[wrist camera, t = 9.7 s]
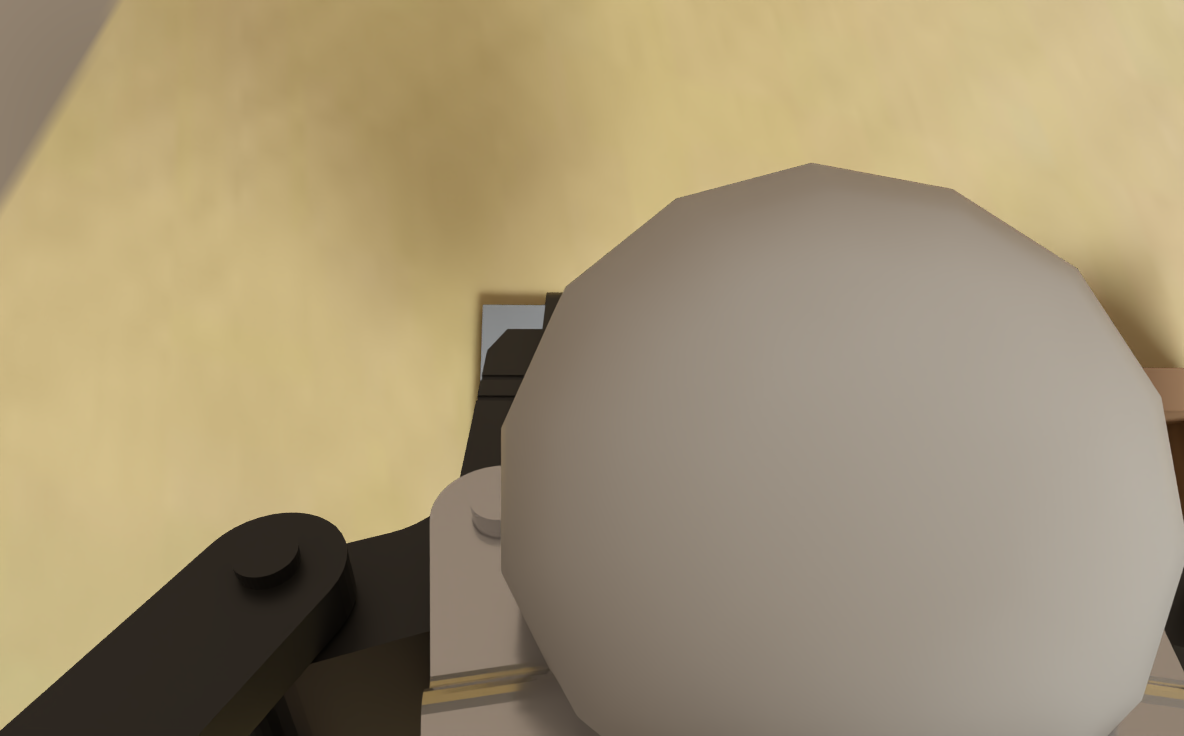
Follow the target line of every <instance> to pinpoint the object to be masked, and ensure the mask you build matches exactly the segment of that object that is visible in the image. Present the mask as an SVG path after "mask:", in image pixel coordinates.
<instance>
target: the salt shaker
mask: <svg viewBox="0 0 1184 736" xmlns="http://www.w3.org/2000/svg"><path fill="white" fill-rule="evenodd" d="M1183 568H1184V521H1183V515H1182V510H1181V504H1180V499H1179V493H1178V487H1177V482H1176V476H1175V471H1174V465H1173V460H1172V454H1171V448H1170V443H1169V437H1168V432H1167V426H1166V420H1165V415H1164V409H1163V404H1162V398H1161V396H1160V394H1159V393H1158V391H1157V390H1156V388H1155V387H1154V385H1153V384H1152V382H1151V380H1150V379H1149V377H1148V376H1147V374H1146V373H1145V371H1144V370H1143V368H1142V367H1141V365H1140V364H1139V362H1138V361H1137V359H1136V357H1135V356H1134V354H1133V353H1132V351H1131V350H1130V348H1129V347H1128V345H1127V344H1126V342H1125V341H1124V339H1123V337H1122V336H1121V334H1120V333H1119V331H1118V330H1117V328H1116V327H1115V325H1114V324H1113V322H1112V321H1111V319H1110V318H1109V316H1108V314H1107V313H1106V311H1105V310H1104V308H1103V307H1102V305H1101V304H1100V302H1099V301H1098V299H1097V298H1096V296H1095V295H1094V293H1093V291H1092V290H1091V288H1090V287H1089V285H1088V284H1087V282H1086V281H1085V279H1084V278H1083V276H1082V275H1081V273H1080V271H1079V270H1078V269H1077V268H1076V267H1074V266H1072V265H1071V264H1069V263H1068V262H1066V261H1065V260H1063V259H1061V258H1060V257H1058V256H1057V255H1055V254H1054V253H1052V252H1050V251H1049V250H1047V249H1046V248H1044V247H1043V246H1041V245H1039V244H1038V243H1036V242H1035V241H1033V240H1032V239H1030V238H1028V237H1027V236H1025V235H1024V234H1022V233H1021V232H1019V231H1018V230H1016V229H1014V228H1013V227H1011V226H1010V225H1008V224H1007V223H1005V222H1003V221H1002V220H1000V219H999V218H997V217H996V216H994V215H992V214H991V213H989V212H988V211H986V210H985V209H983V208H981V207H980V206H978V205H977V204H975V203H974V202H972V201H970V200H969V199H967V198H966V197H964V196H963V195H961V194H959V193H958V192H956V191H955V190H953V189H949V188H944V187H939V186H933V185H928V184H922V183H917V182H912V181H906V180H901V179H896V178H890V177H885V176H879V175H874V174H869V173H863V172H858V171H852V170H847V169H842V168H836V167H831V166H826V165H820V164H815V163H809V164H805V165H801V166H798V167H794V168H790V169H786V170H782V171H779V172H775V173H771V174H767V175H764V176H760V177H756V178H752V179H748V180H745V181H741V182H737V183H733V184H730V185H726V186H722V187H718V188H714V189H711V190H707V191H703V192H699V193H696V194H692V195H688V196H684V197H680V198H677V199H675V200H674V201H672V202H671V203H670V204H669V205H667V206H666V207H665V208H664V209H662V210H661V211H660V212H659V213H657V214H656V215H655V216H654V217H652V218H651V219H650V220H649V221H647V222H646V223H645V224H644V225H642V226H641V227H640V228H639V229H637V230H636V231H635V232H634V233H632V234H631V235H630V236H629V237H627V238H626V239H625V240H624V241H622V242H621V243H620V244H619V245H617V246H616V247H615V248H614V249H612V250H611V251H610V252H609V253H607V254H606V255H605V256H604V257H602V258H601V259H600V260H599V261H597V262H596V263H595V264H594V265H592V266H591V267H590V268H589V269H587V270H586V271H585V272H584V273H582V274H581V275H580V276H579V277H577V278H576V279H575V280H574V281H572V282H571V283H570V284H569V285H567V286H566V288H565V290H564V291H563V293H562V295H561V297H560V299H559V301H558V303H557V305H556V308H555V310H554V312H553V314H552V316H551V319H550V321H549V323H548V325H547V328H546V330H545V332H544V334H543V336H542V339H541V341H540V343H539V345H538V348H537V350H536V352H535V354H534V356H533V359H532V361H531V363H530V365H529V368H528V370H527V372H526V374H525V376H524V379H523V381H522V383H521V385H520V387H519V390H518V392H517V394H516V396H515V399H514V401H513V403H512V405H511V407H510V410H509V412H508V414H507V416H506V419H505V421H504V423H503V425H502V427H501V573H502V575H503V577H504V579H505V581H506V583H507V585H508V587H509V589H510V591H511V593H512V595H513V597H514V599H515V601H516V603H517V605H518V607H519V609H520V611H521V613H522V615H523V617H524V619H525V621H526V623H527V625H528V627H529V629H530V631H531V633H532V635H533V637H534V639H535V641H536V643H537V645H538V647H539V649H540V651H541V653H542V655H543V657H544V659H545V661H546V663H547V665H548V667H549V669H550V670H551V671H552V673H553V674H554V676H555V677H556V679H557V681H558V683H559V684H560V686H561V688H562V690H563V691H564V693H565V695H566V697H567V699H568V700H569V702H570V704H571V706H572V708H573V710H574V712H575V713H576V715H577V716H578V717H579V718H580V719H581V720H582V721H583V722H585V723H586V724H587V725H588V726H589V727H591V728H592V729H593V730H594V731H596V732H597V733H598V734H599V735H600V736H1108V735H1109V734H1110V733H1111V732H1112V731H1113V729H1114V728H1115V727H1116V726H1117V725H1118V724H1119V723H1120V722H1121V721H1122V720H1123V719H1124V718H1125V717H1126V716H1127V715H1128V714H1129V713H1130V712H1131V711H1132V710H1133V709H1134V708H1135V707H1136V706H1137V705H1138V704H1139V703H1140V702H1141V701H1142V698H1143V695H1144V692H1145V689H1146V686H1147V682H1148V679H1149V676H1150V673H1151V670H1152V666H1153V663H1154V660H1155V657H1156V654H1157V650H1158V647H1159V644H1160V641H1161V638H1162V635H1163V631H1164V628H1165V625H1166V622H1167V619H1168V615H1169V612H1170V609H1171V606H1172V603H1173V599H1174V596H1175V593H1176V590H1177V587H1178V584H1179V580H1180V577H1181V574H1182V571H1183Z"/></svg>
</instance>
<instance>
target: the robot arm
mask: <svg viewBox="0 0 1184 736" xmlns="http://www.w3.org/2000/svg"><path fill="white" fill-rule="evenodd" d="M561 295H562V293H547V295H546V302H545V311H544V320H543V328H542V329H507V330H506V331H505V332H504V333H503V334H502V335H501V336H500V337H499V338H498V339H497V340H496V341H495V342H494V344H493V345H492V346H491V347H490V348H489V349H488V350H487V353H486V358H485V363H484V367H483V372H482V380H481V381H480V386H479V391H478V400H477V401H476V405H475V409H474V414H473V419H472V424H471V428H470V433H469V438H468V442H467V447H466V452H465V456H464V461H463V466H462V470H461V475H460V478H458V479H457V480H455V481H453V482H452V483H451V484H450V485H448V486H447V487H446V488H445V489H444V490H443V491H442V492H441V493H440V494H439V496H438V497H437V499H436V500H435V502H434V504H433V507H432V510H431V514H430V516H429V517H428V518H426V519H424V520H422V521H420V522H418V523H417V524H414V525H412V526H410V527H407V528H405V529H402V530H398V531H395V532H392V533H388V534H384V535H380V536H375V537H371V538H367V539H363V540H359V541H355V542H351V543H347V544H346V541H345V539H344V537H343V535H342V533H341V532H340V531H339V530H338V528H337V527H336V526H334V525H333V524H332V523H330V522H329V521H327V520H325V519H323V518H321V517H318V516H314V515H311V514H304V513H280V514H272V515H268V516H264V517H260V518H257V519H254V520H251V521H248V522H246V523H244V524H242V525H239V526H237V527H235V528H233V529H232V530H230V531H229V532H227V533H225V534H224V535H222V536H221V537H220V538H218V539H217V540H216V541H214V542H213V543H212V544H211V545H210V546H209V547H207V548H206V549H205V550H204V551H203V552H202V553H201V554H199V555H198V556H197V557H196V558H195V559H194V560H193V561H192V562H190V563H189V564H188V565H187V566H186V567H185V568H184V569H183V570H181V571H180V572H179V573H178V574H177V575H176V576H175V577H173V578H172V579H171V580H170V581H169V582H168V583H167V584H166V585H164V586H163V587H162V588H161V589H160V590H159V591H158V592H157V593H155V594H154V595H153V596H152V597H151V598H150V599H149V600H147V601H146V602H145V603H144V604H143V605H142V606H141V607H140V608H138V609H137V610H136V611H135V612H134V613H133V614H132V615H131V616H129V617H128V618H127V619H126V620H125V621H124V622H123V623H121V624H120V625H119V626H118V627H117V628H116V629H115V630H114V631H112V632H111V633H110V634H109V635H108V636H107V637H106V638H105V639H103V640H102V641H101V642H100V643H99V644H98V645H97V646H95V647H94V648H93V649H92V650H91V651H90V652H89V653H88V654H86V655H85V656H84V657H83V658H82V659H81V660H80V661H79V662H77V663H76V664H75V665H74V666H73V667H72V668H71V669H69V670H68V671H67V672H66V673H65V674H64V675H63V676H62V677H60V678H59V679H58V680H57V681H56V682H55V683H54V684H53V685H51V686H50V687H49V688H48V689H47V690H46V691H45V692H43V693H42V694H41V695H40V696H39V697H38V698H37V699H36V700H34V701H33V702H32V703H31V704H30V705H29V706H28V707H26V708H25V709H24V710H23V711H22V712H21V713H20V714H19V715H17V716H16V717H15V718H14V719H13V720H12V721H11V722H10V723H8V724H7V725H6V726H5V727H4V728H3V729H2V730H0V736H600V735H599V734H598V733H597V732H596V731H594V730H593V729H592V728H591V727H589V726H588V725H587V724H586V723H585V722H583V721H582V720H581V719H580V718H579V717H578V716H577V715H576V713H575V712H574V710H573V708H572V706H571V704H570V702H569V700H568V699H567V697H566V695H565V693H564V691H563V690H562V688H561V686H560V684H559V683H558V681H557V679H556V677H555V676H554V674H553V673H552V671H551V670H550V669H549V667H548V665H547V663H546V661H545V659H544V657H543V655H542V653H541V651H540V649H539V647H538V645H537V643H536V641H535V639H534V637H533V635H532V633H531V631H530V629H529V627H528V625H527V623H526V621H525V619H524V617H523V615H522V613H521V611H520V609H519V607H518V605H517V603H516V601H515V599H514V597H513V595H512V593H511V591H510V589H509V587H508V585H507V583H506V581H505V579H504V577H503V575H502V573H501V427H502V425H503V423H504V421H505V419H506V416H507V414H508V412H509V410H510V407H511V405H512V403H513V401H514V399H515V396H516V394H517V392H518V390H519V387H520V385H521V383H522V381H523V379H524V376H525V374H526V372H527V370H528V368H529V365H530V363H531V361H532V359H533V356H534V354H535V352H536V350H537V348H538V345H539V343H540V341H541V339H542V336H543V334H544V332H545V330H546V328H547V325H548V323H549V321H550V319H551V316H552V314H553V312H554V310H555V308H556V305H557V303H558V301H559V299H560V297H561ZM1108 736H1184V568H1183V571H1182V574H1181V577H1180V580H1179V584H1178V587H1177V590H1176V593H1175V596H1174V599H1173V603H1172V606H1171V609H1170V612H1169V615H1168V619H1167V622H1166V625H1165V628H1164V631H1163V635H1162V638H1161V641H1160V644H1159V647H1158V650H1157V654H1156V657H1155V660H1154V663H1153V666H1152V670H1151V673H1150V676H1149V679H1148V682H1147V686H1146V689H1145V692H1144V695H1143V698H1142V701H1141V702H1140V703H1139V704H1138V705H1137V706H1136V707H1135V708H1134V709H1133V710H1132V711H1131V712H1130V713H1129V714H1128V715H1127V716H1126V717H1125V718H1124V719H1123V720H1122V721H1121V722H1120V723H1119V724H1118V725H1117V726H1116V727H1115V728H1114V729H1113V731H1112V732H1111V733H1110V734H1109V735H1108Z"/></svg>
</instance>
